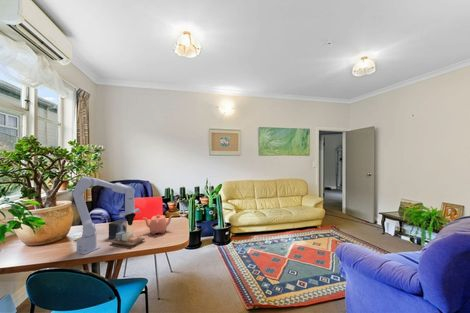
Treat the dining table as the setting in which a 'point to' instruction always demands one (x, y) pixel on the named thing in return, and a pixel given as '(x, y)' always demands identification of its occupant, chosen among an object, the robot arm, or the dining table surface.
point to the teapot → (158, 224)
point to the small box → (117, 228)
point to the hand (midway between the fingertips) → (130, 225)
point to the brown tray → (126, 243)
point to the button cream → (127, 236)
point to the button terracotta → (133, 239)
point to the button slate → (120, 235)
